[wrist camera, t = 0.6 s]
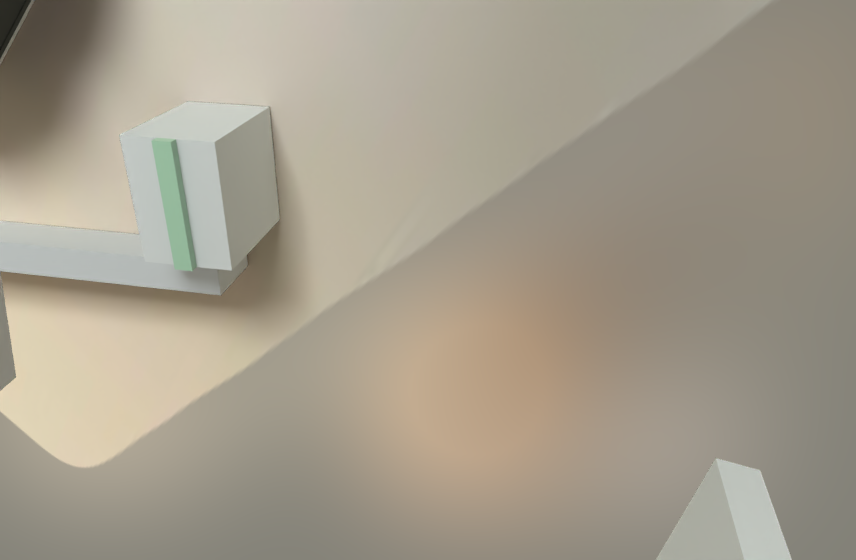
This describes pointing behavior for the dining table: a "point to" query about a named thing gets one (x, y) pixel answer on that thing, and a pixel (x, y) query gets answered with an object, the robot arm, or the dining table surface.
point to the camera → (11, 21)
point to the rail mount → (171, 206)
